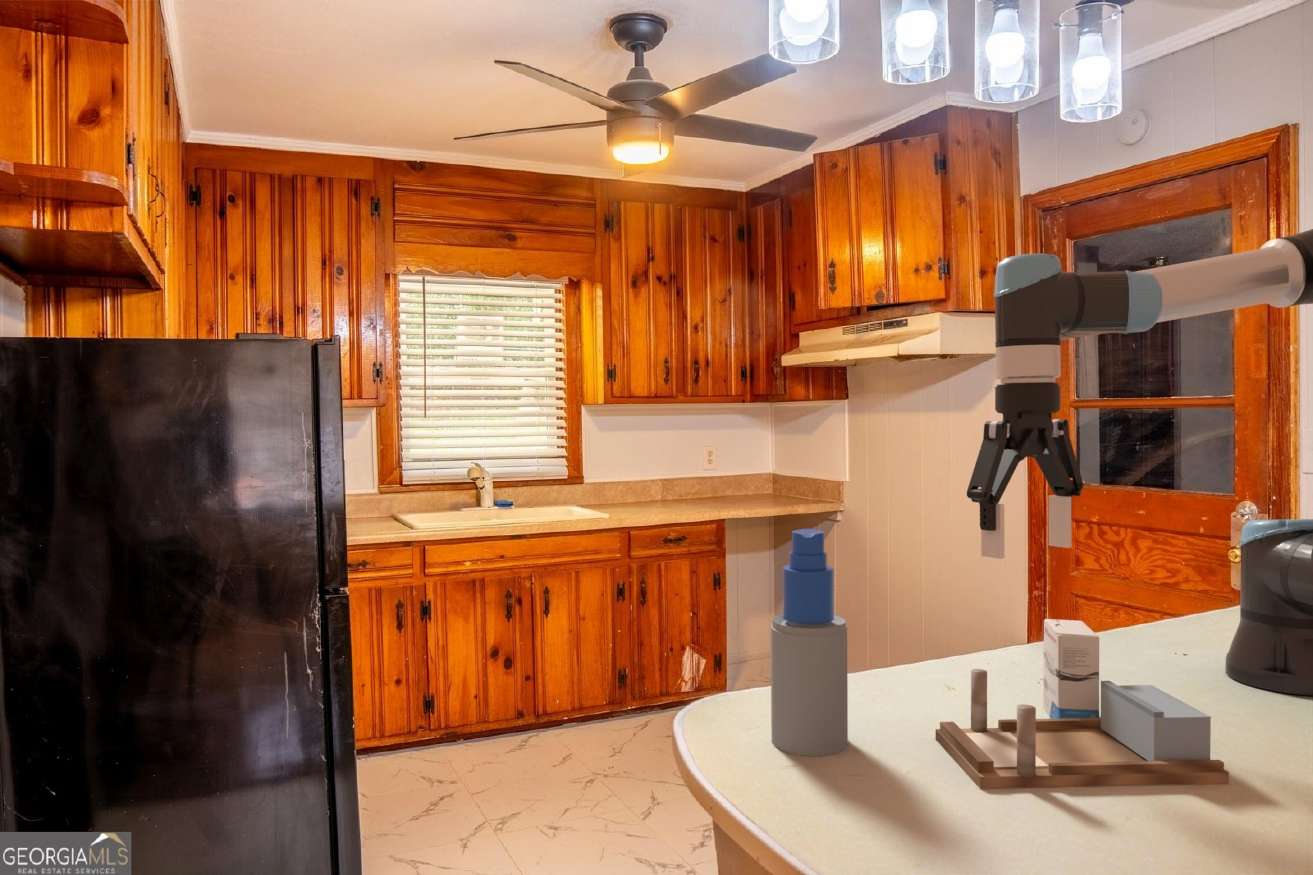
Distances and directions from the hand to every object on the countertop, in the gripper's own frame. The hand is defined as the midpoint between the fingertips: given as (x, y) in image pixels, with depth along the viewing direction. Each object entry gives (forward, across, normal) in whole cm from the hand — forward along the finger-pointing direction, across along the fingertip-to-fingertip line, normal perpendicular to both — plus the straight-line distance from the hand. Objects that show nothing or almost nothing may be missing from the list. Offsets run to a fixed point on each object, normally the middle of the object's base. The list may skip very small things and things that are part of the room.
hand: (1027, 552), depth 114 cm
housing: (+20, 0, +16) cm, 25 cm away
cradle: (+21, +8, +11) cm, 25 cm away
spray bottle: (+21, +28, -10) cm, 36 cm away
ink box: (+21, -4, +3) cm, 22 cm away
